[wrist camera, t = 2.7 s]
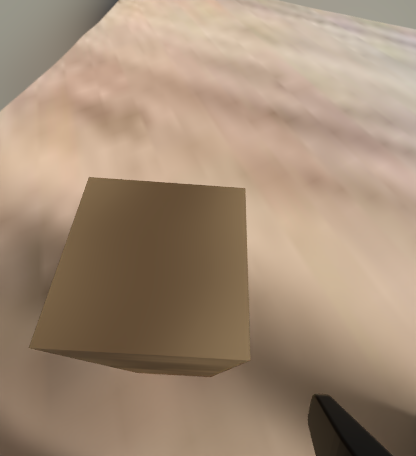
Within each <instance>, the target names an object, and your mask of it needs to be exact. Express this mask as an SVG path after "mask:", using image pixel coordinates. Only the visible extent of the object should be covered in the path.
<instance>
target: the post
mask: <svg viewBox="0 0 416 456" xmlns="http://www.w3.org/2000/svg"><path fill="white" fill-rule="evenodd" d="M29 348H31V349H36V350H40V351H44V352H49V353H53V354H57V355H62V356H66V357H71V358H75V359H79V360H84V361H88V362H92V363H97V364H101V365H106V366H110V367H114V368H119V369H123V370H127V371H132V372H136V373H148V374H167V375H185V376H203V377H212V376H214V375H216V374H219V373H221V372H224V371H226V370H229V369H231V368H233V367H236V366H238V365H241V364H243V363H245V362H248V361H250V331H249V298H248V264H247V231H246V197H245V188H234V187H220V186H206V185H192V184H178V183H164V182H150V181H136V180H122V179H108V178H94V177H89V179H88V181H87V184H86V187H85V190H84V193H83V196H82V198H81V201H80V204H79V207H78V210H77V213H76V216H75V218H74V221H73V224H72V227H71V230H70V233H69V235H68V238H67V241H66V244H65V247H64V250H63V252H62V255H61V258H60V261H59V264H58V267H57V269H56V272H55V275H54V278H53V281H52V284H51V286H50V289H49V292H48V295H47V298H46V301H45V303H44V306H43V309H42V312H41V315H40V318H39V320H38V323H37V326H36V329H35V332H34V335H33V337H32V340H31V343H30V346H29Z"/></svg>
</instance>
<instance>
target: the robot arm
mask: <svg viewBox="0 0 416 456" xmlns="http://www.w3.org/2000/svg"><path fill="white" fill-rule="evenodd" d="M308 425H309V430H310V434H311V438H312V442H313V446H314V450H315V454H316V456H393V455H392V454H391V453H390V452H389V451H388V450H386V449H385V448H384V447H383V446H382V445H381V444H380V443H379V442H378V441H377V440H376V439H375V438H374V437H373V436H372V435H371V434H370V433H369V432H368V431H366V430H365V429H364V428H363V427H362V426H361V425H360V424H359V423H358V422H357V421H356V420H355V419H354V418H353V417H352V416H351V415H350V414H349V413H348V412H346V411H345V410H344V409H343V408H342V407H341V406H340V405H339V404H338V403H337V402H336V401H335V400H334V399H333V398H332V397H331V396H329V395H327V394H314V395H313V396H312V400H311V404H310V409H309V414H308Z"/></svg>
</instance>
